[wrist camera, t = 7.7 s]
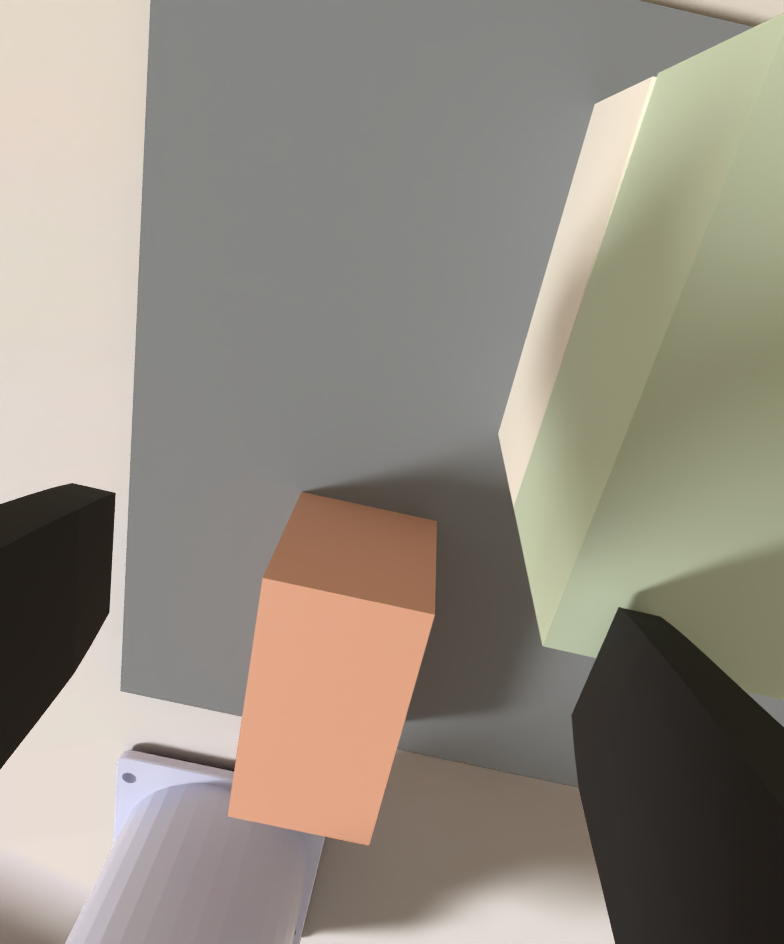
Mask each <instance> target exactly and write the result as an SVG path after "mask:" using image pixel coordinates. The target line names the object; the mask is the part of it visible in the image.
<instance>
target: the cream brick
mask: <svg viewBox="0 0 784 944" xmlns="http://www.w3.org/2000/svg"><path fill="white" fill-rule="evenodd" d="M656 78H657V77H653V76H652V77H650V78H648V79H646V80H644V81H642V82H640V83H638V84H636V85H634V86H631V87H629V88H627V89H625V90H623V91H621V92H619V93H617V94H615V95H613V96H611V97H608V98H606V99H604V100H602V101H600V102H598V103H596V104H595V105H594V108H593V112H592V115H591V118H590V122H589V125H588V129H587V132H586V136H585V139H584V142H583V146H582V149H581V153H580V156H579V159H578V163H577V166H576V170H575V173H574V177H573V180H572V183H571V187H570V190H569V194H568V197H567V200H566V204H565V207H564V211H563V214H562V217H561V221H560V224H559V228H558V231H557V235H556V238H555V241H554V245H553V248H552V252H551V255H550V258H549V262H548V265H547V269H546V272H545V276H544V279H543V282H542V286H541V289H540V293H539V296H538V299H537V303H536V306H535V310H534V313H533V317H532V320H531V323H530V327H529V330H528V334H527V337H526V340H525V344H524V347H523V351H522V354H521V357H520V361H519V364H518V368H517V371H516V375H515V378H514V381H513V385H512V388H511V392H510V395H509V398H508V402H507V405H506V409H505V412H504V416H503V419H502V422H501V426H500V429H499V433H498V436H499V440H500V445H501V450H502V455H503V460H504V465H505V469H506V474H507V479H508V484H509V489H510V493H511V498H512V503H513V508H514V504H515V501H516V498H517V495H518V492H519V489H520V486H521V483H522V480H523V477H524V474H525V471H526V468H527V465H528V462H529V459H530V456H531V453H532V450H533V447H534V444H535V441H536V438H537V435H538V432H539V429H540V426H541V423H542V420H543V417H544V414H545V411H546V408H547V405H548V402H549V399H550V396H551V393H552V390H553V387H554V384H555V381H556V378H557V375H558V372H559V369H560V366H561V363H562V360H563V357H564V354H565V351H566V348H567V345H568V342H569V339H570V336H571V333H572V330H573V327H574V324H575V321H576V318H577V315H578V312H579V309H580V306H581V303H582V300H583V297H584V294H585V291H586V288H587V285H588V282H589V279H590V276H591V273H592V270H593V267H594V264H595V261H596V258H597V255H598V252H599V249H600V246H601V243H602V240H603V237H604V234H605V231H606V228H607V225H608V222H609V219H610V216H611V213H612V210H613V207H614V204H615V201H616V198H617V195H618V192H619V189H620V186H621V183H622V180H623V177H624V174H625V171H626V168H627V165H628V162H629V159H630V156H631V153H632V150H633V147H634V144H635V141H636V138H637V135H638V132H639V129H640V126H641V123H642V120H643V117H644V114H645V111H646V108H647V105H648V102H649V99H650V96H651V93H652V90H653V87H654V84H655V81H656Z"/></svg>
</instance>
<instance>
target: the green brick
mask: <svg viewBox="0 0 784 944" xmlns="http://www.w3.org/2000/svg"><path fill="white" fill-rule="evenodd" d="M514 512H515V517H516V521H517V526H518V531H519V536H520V541H521V545H522V550H523V555H524V560H525V565H526V569H527V574H528V579H529V584H530V589H531V593H532V598H533V603H534V608H535V613H536V617H537V622H538V627H539V632H540V637H541V641H542V646H544V647H548V648H553V649H557V650H562V651H566V652H571V653H575V654H580V655H584V656H589V657H593V658H597V655H598V653H599V651H600V648H601V646H602V644H603V642H604V639H605V637H606V635H607V632H608V630H609V628H610V626H611V623H612V621H613V619H614V616H615V614H616V612H617V609H618V607H621V608H625V609H630V610H634V611H639V612H643V613H647V614H652V615H656V616H660V617H662V618H663V619H665V620H666V621H667V622H668V623H670V624H671V625H672V626H674V627H675V628H676V629H677V630H678V631H680V632H681V633H682V634H683V635H684V636H685V637H687V638H688V639H689V640H690V641H691V642H692V643H693V644H694V645H695V646H697V647H698V648H699V649H700V650H701V651H702V652H703V653H704V654H705V655H706V656H708V657H709V658H710V659H711V660H712V661H713V662H714V663H715V664H716V665H717V666H718V667H719V668H720V669H722V670H723V671H724V672H725V673H726V674H727V675H728V676H729V677H730V678H731V679H732V680H733V681H734V682H735V683H737V684H738V685H739V686H740V687H741V688H742V689H743V690H744V691H745V692H749V693H753V694H758V695H762V696H767V697H771V698H776V699H780V700H784V13H782V14H780V15H778V16H776V17H774V18H772V19H770V20H768V21H766V22H763V23H761V24H759V25H757V26H755V27H753V28H751V29H749V30H747V31H745V32H743V33H741V34H738V35H736V36H734V37H732V38H730V39H728V40H726V41H724V42H722V43H720V44H718V45H716V46H713V47H711V48H709V49H707V50H705V51H703V52H701V53H699V54H697V55H695V56H693V57H691V58H689V59H686V60H684V61H682V62H680V63H678V64H676V65H674V66H672V67H670V68H668V69H666V70H664V71H661V72H659V73H658V75H657V78H656V81H655V84H654V87H653V90H652V93H651V96H650V99H649V102H648V105H647V108H646V111H645V114H644V117H643V120H642V123H641V126H640V129H639V132H638V135H637V138H636V141H635V144H634V147H633V150H632V153H631V156H630V159H629V162H628V165H627V168H626V171H625V174H624V177H623V180H622V183H621V186H620V189H619V192H618V195H617V198H616V201H615V204H614V207H613V210H612V213H611V216H610V219H609V222H608V225H607V228H606V231H605V234H604V237H603V240H602V243H601V246H600V249H599V252H598V255H597V258H596V261H595V264H594V267H593V270H592V273H591V276H590V279H589V282H588V285H587V288H586V291H585V294H584V297H583V300H582V303H581V306H580V309H579V312H578V315H577V318H576V321H575V324H574V327H573V330H572V333H571V336H570V339H569V342H568V345H567V348H566V351H565V354H564V357H563V360H562V363H561V366H560V369H559V372H558V375H557V378H556V381H555V384H554V387H553V390H552V393H551V396H550V399H549V402H548V405H547V408H546V411H545V414H544V417H543V420H542V423H541V426H540V429H539V432H538V435H537V438H536V441H535V444H534V447H533V450H532V453H531V456H530V459H529V462H528V465H527V468H526V471H525V474H524V477H523V480H522V483H521V486H520V489H519V492H518V495H517V498H516V501H515V504H514Z"/></svg>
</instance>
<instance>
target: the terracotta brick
mask: <svg viewBox="0 0 784 944" xmlns="http://www.w3.org/2000/svg"><path fill="white" fill-rule="evenodd" d="M436 542H437V521H434V520H429V519H425V518H420V517H416V516H411V515H406V514H402V513H397V512H392V511H388V510H383V509H379V508H374V507H369V506H365V505H360V504H356V503H351V502H346V501H342V500H337V499H333V498H328V497H323V496H319V495H314V494H310V493H305V492H301V494H300V496H299V498H298V501H297V503H296V505H295V507H294V509H293V512H292V514H291V516H290V518H289V521H288V523H287V525H286V527H285V529H284V532H283V534H282V536H281V538H280V540H279V543H278V545H277V547H276V549H275V551H274V554H273V556H272V558H271V560H270V563H269V565H268V567H267V569H266V571H265V574H264V576H263V578H262V585H261V592H260V599H259V606H258V612H257V619H256V626H255V633H254V640H253V646H252V653H251V660H250V667H249V674H248V680H247V687H246V694H245V701H244V708H243V714H242V721H241V728H240V735H239V742H238V748H237V755H236V762H235V769H234V776H233V782H232V789H231V796H230V803H229V810H228V817H233V818H238V819H243V820H248V821H252V822H257V823H262V824H267V825H272V826H276V827H281V828H286V829H291V830H296V831H301V832H305V833H310V834H315V835H320V836H325V837H329V838H334V839H339V840H344V841H349V842H353V843H358V844H363V845H368V846H369V845H370V841H371V837H372V834H373V830H374V827H375V823H376V820H377V816H378V813H379V809H380V806H381V802H382V799H383V795H384V792H385V788H386V785H387V781H388V778H389V774H390V771H391V767H392V764H393V760H394V757H395V753H396V750H397V746H398V743H399V739H400V736H401V732H402V729H403V725H404V722H405V718H406V715H407V711H408V708H409V704H410V701H411V697H412V694H413V690H414V686H415V683H416V679H417V676H418V672H419V669H420V665H421V662H422V658H423V655H424V651H425V648H426V644H427V641H428V637H429V634H430V630H431V627H432V623H433V620H434V616H435V588H436Z"/></svg>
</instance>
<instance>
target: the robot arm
mask: <svg viewBox="0 0 784 944" xmlns="http://www.w3.org/2000/svg"><path fill="white" fill-rule="evenodd" d="M115 494H116V493H113V492H109V491H104V490H100V489H96V488H91V487H87V486H82V485H78V484H73V483H71V484H67V485H62V486H58V487H54V488H50V489H47V490H44V491H40V492H37V493H34V494H30V495H27V496H24V497H21V498H18V499H15V500H12V501H9V502H6V503H3V504H0V769H1V768H2V766H3V765H4V764H5V763H6V761H7V760H8V759H9V757H10V756H11V755H12V754H13V752H14V751H15V750H16V748H17V747H18V746H19V745H20V743H21V742H22V741H23V739H24V738H25V737H26V736H27V734H28V733H29V732H30V730H31V729H32V728H33V727H34V725H35V724H36V723H37V721H38V720H39V719H40V718H41V716H42V715H43V714H44V712H45V711H46V710H47V708H48V707H49V706H50V704H51V703H52V702H53V701H54V699H55V698H56V697H57V695H58V694H59V693H60V691H61V690H62V689H63V687H64V686H65V685H66V683H67V682H68V681H69V679H70V678H71V677H72V675H73V674H74V673H75V671H76V669H77V668H78V666H79V664H80V663H81V661H82V659H83V658H84V656H85V654H86V653H87V651H88V649H89V648H90V646H91V644H92V642H93V641H94V639H95V637H96V635H97V634H98V632H99V630H100V628H101V626H102V625H103V623H104V621H105V619H106V617H107V616H108V614H109V608H110V589H111V570H112V551H113V532H114V513H115ZM571 717H572V729H573V741H574V753H575V762H576V771H577V779H578V786H579V791H580V795H581V800H582V804H583V809H584V813H585V817H586V822H587V826H588V831H589V835H590V839H591V844H592V848H593V852H594V856H595V860H596V865H597V869H598V873H599V877H600V881H601V886H602V890H603V894H604V898H605V902H606V907H607V911H608V915H609V919H610V923H611V928H612V932H613V936H614V940H615V944H784V727H783V726H782V725H781V724H780V723H779V722H778V721H777V720H775V719H774V718H773V717H772V716H771V715H770V714H769V713H768V712H767V711H766V710H765V709H763V708H762V707H761V706H760V705H759V704H758V703H757V702H756V701H755V700H754V699H753V698H752V697H750V696H749V695H748V694H747V693H746V692H745V691H744V690H743V689H742V688H741V687H740V686H739V685H738V684H737V683H735V682H734V681H733V680H732V679H731V678H730V677H729V676H728V675H727V674H726V673H725V672H724V671H723V670H722V669H720V668H719V667H718V666H717V665H716V664H715V663H714V662H713V661H712V660H711V659H710V658H709V657H708V656H706V655H705V654H704V653H703V652H702V651H701V650H700V649H699V648H698V647H697V646H695V645H694V644H693V643H692V642H691V641H690V640H689V639H688V638H687V637H685V636H684V635H683V634H682V633H681V632H680V631H678V630H677V629H676V628H675V627H674V626H672V625H671V624H670V623H668V622H667V621H666V620H665V619H663V618H662V617H660V616H656V615H652V614H647V613H643V612H639V611H634V610H630V609H625V608H621V607H618V609H617V612H616V614H615V616H614V619H613V621H612V623H611V626H610V628H609V630H608V632H607V635H606V637H605V639H604V642H603V644H602V646H601V648H600V651H599V653H598V655H597V658H596V660H595V662H594V664H593V667H592V669H591V671H590V674H589V676H588V678H587V681H586V683H585V685H584V687H583V690H582V692H581V694H580V697H579V699H578V701H577V703H576V706H575V708H574V710H573V713H572V715H571ZM233 776H234V771H229V770H224V769H220V768H215V767H210V766H205V765H200V764H196V763H191V762H186V761H181V760H176V759H172V758H167V757H162V756H157V755H153V754H148V753H143V752H138V751H126V752H124V753H123V754H121V756H120V758H119V760H118V762H117V769H116V792H115V815H114V839H113V847H112V849H111V851H110V853H109V855H108V857H107V859H106V861H105V863H104V865H103V867H102V869H101V871H100V873H99V875H98V877H97V879H96V881H95V883H94V885H93V888H92V890H91V892H90V894H89V896H88V898H87V900H86V902H85V904H84V906H83V908H82V910H81V912H80V914H79V916H78V918H77V920H76V922H75V924H74V926H73V928H72V930H71V932H70V934H69V936H68V938H67V940H66V942H65V944H300V940H301V936H302V931H303V927H304V923H305V919H306V915H307V911H308V907H309V902H310V898H311V894H312V890H313V886H314V882H315V878H316V873H317V869H318V865H319V861H320V857H321V853H322V849H323V844H324V840H325V836H320V835H315V834H310V833H305V832H301V831H296V830H291V829H286V828H281V827H276V826H272V825H267V824H262V823H257V822H252V821H248V820H243V819H238V818H233V817H228V810H229V803H230V796H231V789H232V782H233Z"/></svg>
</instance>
